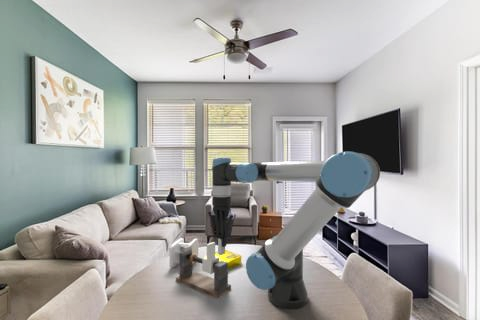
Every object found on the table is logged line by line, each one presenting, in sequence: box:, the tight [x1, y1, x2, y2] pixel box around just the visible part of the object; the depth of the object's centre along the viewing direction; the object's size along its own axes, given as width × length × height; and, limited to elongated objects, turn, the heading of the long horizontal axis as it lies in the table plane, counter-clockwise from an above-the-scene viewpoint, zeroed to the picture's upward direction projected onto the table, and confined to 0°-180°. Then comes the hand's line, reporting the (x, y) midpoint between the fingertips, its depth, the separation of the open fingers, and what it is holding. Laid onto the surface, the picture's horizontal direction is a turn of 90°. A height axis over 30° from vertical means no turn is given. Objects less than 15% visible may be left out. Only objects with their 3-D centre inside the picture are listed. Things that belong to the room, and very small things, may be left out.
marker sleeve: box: [201, 241, 220, 275], centre depth 101 cm, size 5×5×11 cm
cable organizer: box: [168, 237, 199, 268], centre depth 126 cm, size 15×11×12 cm
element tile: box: [203, 249, 242, 271], centre depth 126 cm, size 15×15×5 cm
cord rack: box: [175, 244, 232, 299], centre depth 104 cm, size 24×9×14 cm, turn 54°
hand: (221, 254), depth 98 cm, fingers closed
